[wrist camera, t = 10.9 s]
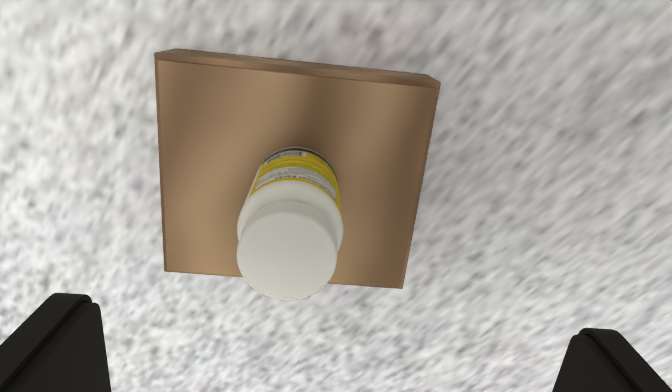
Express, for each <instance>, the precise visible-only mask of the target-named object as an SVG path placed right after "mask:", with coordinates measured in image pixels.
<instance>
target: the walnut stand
mask: <svg viewBox="0 0 672 392" xmlns="http://www.w3.org/2000/svg"><path fill="white" fill-rule="evenodd" d="M154 57H155V79H156V100H157V122H158V144H159V166H160V187H161V209H162V231H163V253H164V271H166V272H180V273H194V274H207V275H221V276H234V277H243V276H242V274H241V272H240V270H239V267H238V263H237V247H238V243H239V241H238V236H237V223H238V218H239V215H240V212H241V210H242V208H243V205H244V203H245V200H246V198H247V196H248V193H249V191H250V188H251V186H252V183H253V180H254V178H255V176H256V173H257V171H258V169H259V167H260V165H261V164H262V162H263V161H264V160H265V159H266V158H267V157H268V156H270V155H271V154H273V153H274V152H276V151H278V150H281V149H284V148H288V147H303V148H307V149H311V150H313V151H315V152H317V153H319V154H320V155H322V156H323V157H324V158H326V159H327V160H328V162H329V163H330V164H331V165H332V167H333V169H334V171H335V173H336V176H337V180H338V185H339V195H340V203H341V212H342V219H343V238H342V242H341V246H340V248H339V250H338V252H337V263H336V267H335V270H334V273H333V275H332V277H331V279H330V280H329V281H328V283H330V284H343V285H357V286H370V287H384V288H398V289H403V283H404V278H405V273H406V267H407V262H408V256H409V251H410V246H411V240H412V235H413V229H414V224H415V219H416V213H417V208H418V202H419V197H420V192H421V186H422V181H423V175H424V170H425V165H426V159H427V154H428V148H429V143H430V138H431V132H432V127H433V121H434V116H435V111H436V105H437V100H438V95H439V89H440V84H441V82H439V81H437V80H435V79H433V78H432V77H430V76H428V75H426V74H416V73H407V72H397V71H387V70H378V69H368V68H359V67H349V66H339V65H330V64H320V63H311V62H301V61H291V60H282V59H272V58H263V57H253V56H243V55H234V54H224V53H215V52H205V51H195V50H186V49H171V50H166V51H161V52H156V53H154Z"/></svg>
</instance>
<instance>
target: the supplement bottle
mask: <svg viewBox="0 0 672 392" xmlns="http://www.w3.org/2000/svg"><path fill="white" fill-rule="evenodd" d="M237 236H238V241H239V243H238V247H237V263H238V267H239V270H240V272H241V274H242V276H243V278H244V279H245V280H246V282H247V283H248V284H249V285H250V286H251V287H252V288H254V289H255V290H256V291H257V292H259V293H261V294H263V295H264V296H267V297H270V298H273V299H277V300H283V301H290V300H299V299H303V298H306V297H309V296H311V295H313V294H315V293H316V292H318V291H319V290H321V289H322V288H323V287H324V286H325V285H326V284H327V283H328V281H329V280H330V279H331V277H332V275H333V273H334V270H335V267H336V263H337V252H338V250H339V248H340V246H341V242H342V238H343V219H342V212H341V203H340V195H339V185H338V180H337V176H336V173H335V171H334V169H333V167H332V165H331V164H330V163H329V162H328V160H327V159H326V158H324V157H323V156H322V155H320V154H319V153H317V152H315V151H313V150H311V149H307V148H303V147H288V148H284V149H281V150H278V151H276V152H274V153H273V154H271V155H270V156H268V157H267V158H266V159H265V160H264V161H263V162H262V164H261V165H260V167H259V169H258V171H257V173H256V176H255V178H254V180H253V183H252V186H251V188H250V191H249V193H248V196H247V198H246V200H245V203H244V205H243V208H242V210H241V212H240V215H239V218H238V223H237Z"/></svg>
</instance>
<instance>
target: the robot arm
mask: <svg viewBox="0 0 672 392" xmlns="http://www.w3.org/2000/svg"><path fill="white" fill-rule="evenodd" d="M0 392H111V386H110V378H109V371H108V363H107V356H106V348H105V341H104V333H103V326H102V318H101V311H100V306H99V305H98V304H97V303H92V300H91V298H90V297H89V296H88V295H84V294H69V293H54V294H52V295H51V296H50V297H49V298H48V299H47V300H46V301H45V302H44V303H43V304H41V305H40V306H39V307H38V308H37V309H36V310H35V311H34V312H33V313H32V314H31V315H30V316H29V317H28V318H27V319H26V320H25V321H24V322H23V323H22V324H21V325H20V326H19V327H18V328H17V329H16V330H15V331H14V332H13V333H12V334H11V335H10V336H9V337H8V338H7V339H6V340H5V341H4V342H3V343H2V344H1V345H0ZM552 392H672V390H671V388H670V387H669V386H668V385H667V384H666V383H665V382H664V381H663V380H662V379H661V378H660V376H659V375H658V374H657V373H656V372H655V371H654V370H653V369H652V368H651V367H650V365H649V364H648V363H647V362H646V361H645V360H644V359H643V358H642V357H641V356H640V355H639V353H638V352H637V351H636V350H635V349H634V348H633V347H632V346H631V345H630V344H629V342H628V341H627V340H626V339H625V338H624V337H623V336H622V335H621V334H620V333H619V332H618V331H615V330H611V329H596V328H584V329H582V330H581V331H580V332H579V334H578V335H574V336H573V337H572V338H571V340H570V343H569V345H568V348H567V351H566V354H565V357H564V360H563V363H562V365H561V368H560V371H559V374H558V377H557V380H556V382H555V385H554V388H553V391H552Z"/></svg>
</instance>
